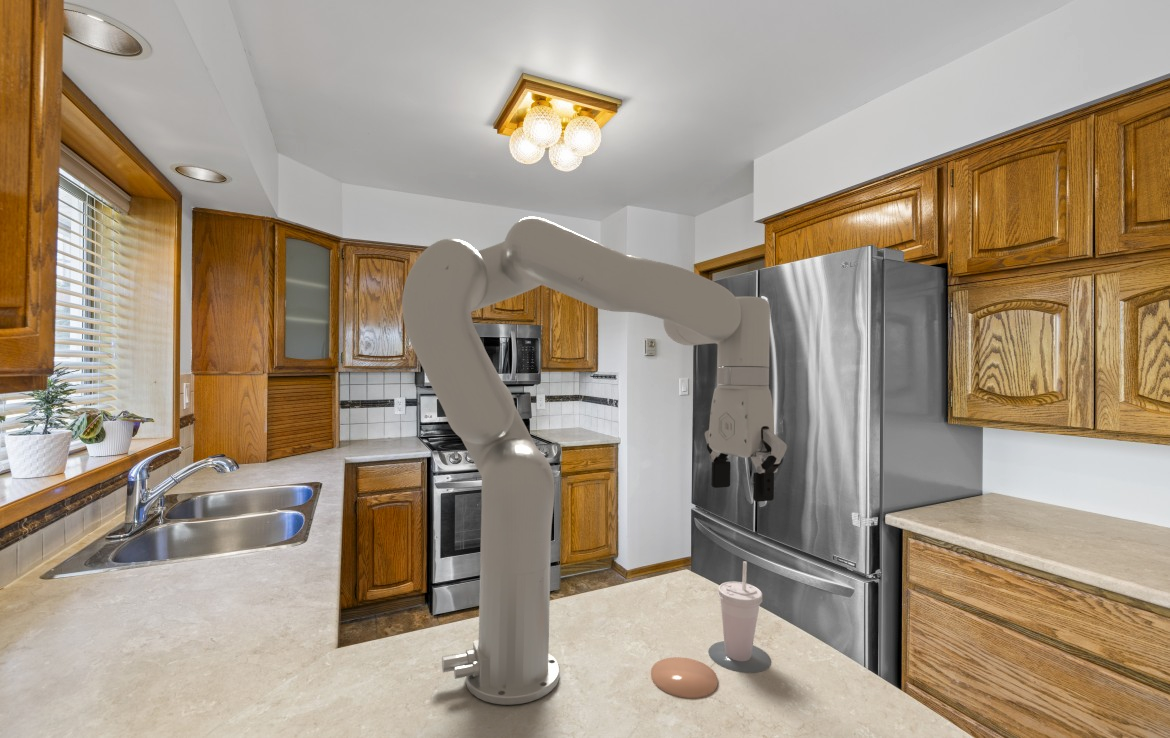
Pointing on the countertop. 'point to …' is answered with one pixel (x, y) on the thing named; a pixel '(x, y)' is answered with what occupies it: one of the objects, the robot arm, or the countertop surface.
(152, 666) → the countertop surface
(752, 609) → the smoothie
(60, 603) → the countertop surface
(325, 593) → the countertop surface
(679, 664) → the orange brown disc
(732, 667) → the grey pebble
